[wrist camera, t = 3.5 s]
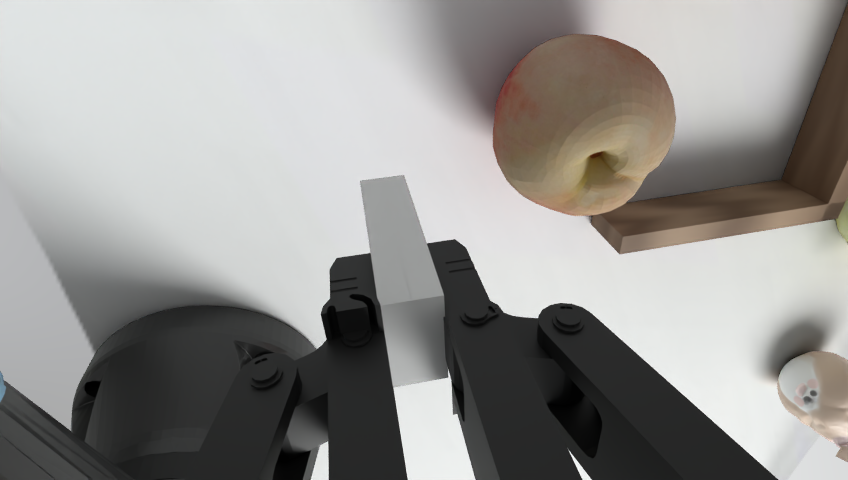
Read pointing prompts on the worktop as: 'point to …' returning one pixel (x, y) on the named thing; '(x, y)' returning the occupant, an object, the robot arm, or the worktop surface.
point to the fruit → (582, 124)
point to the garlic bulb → (818, 395)
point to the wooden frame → (762, 202)
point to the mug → (843, 221)
